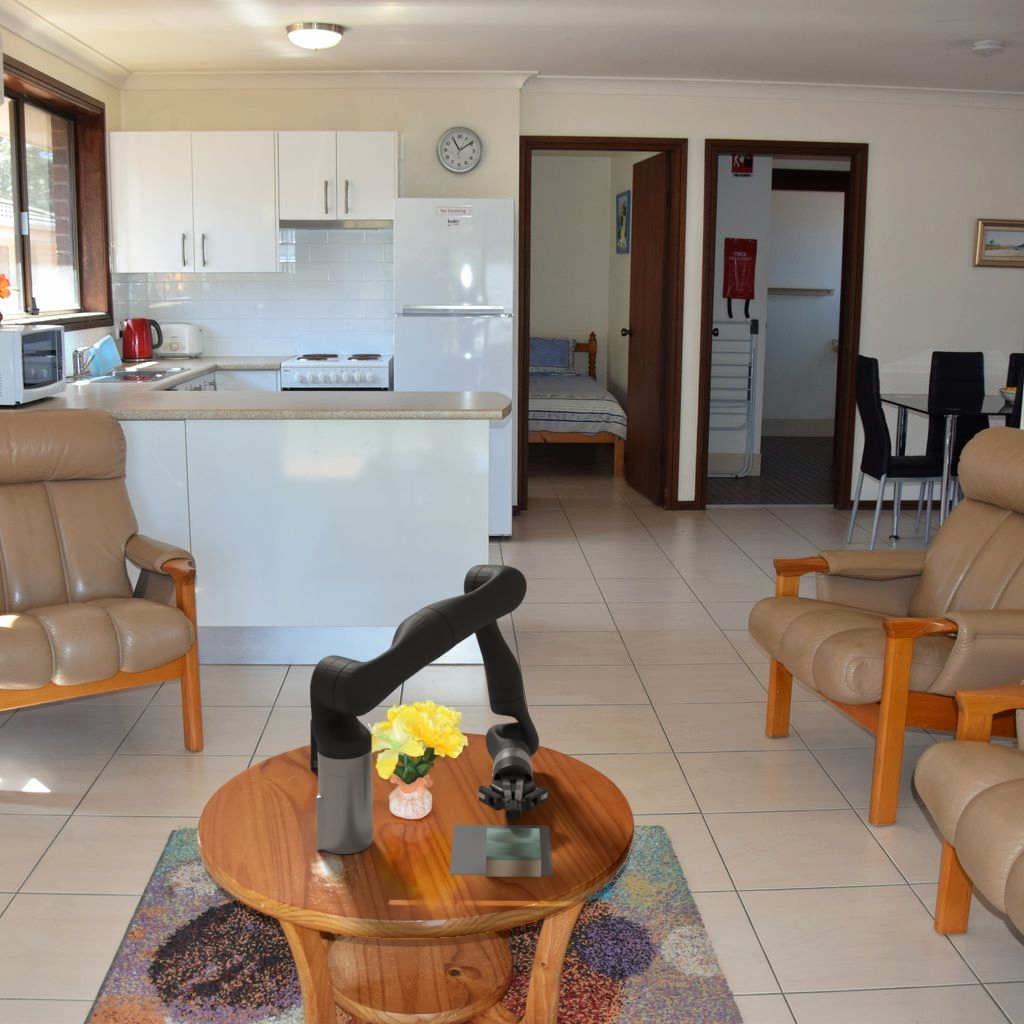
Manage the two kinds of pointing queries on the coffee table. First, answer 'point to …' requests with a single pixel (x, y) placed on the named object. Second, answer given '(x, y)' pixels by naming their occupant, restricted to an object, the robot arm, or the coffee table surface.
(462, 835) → the rubber mat
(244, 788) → the coffee table surface
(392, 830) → the coffee table surface
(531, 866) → the green flat block
